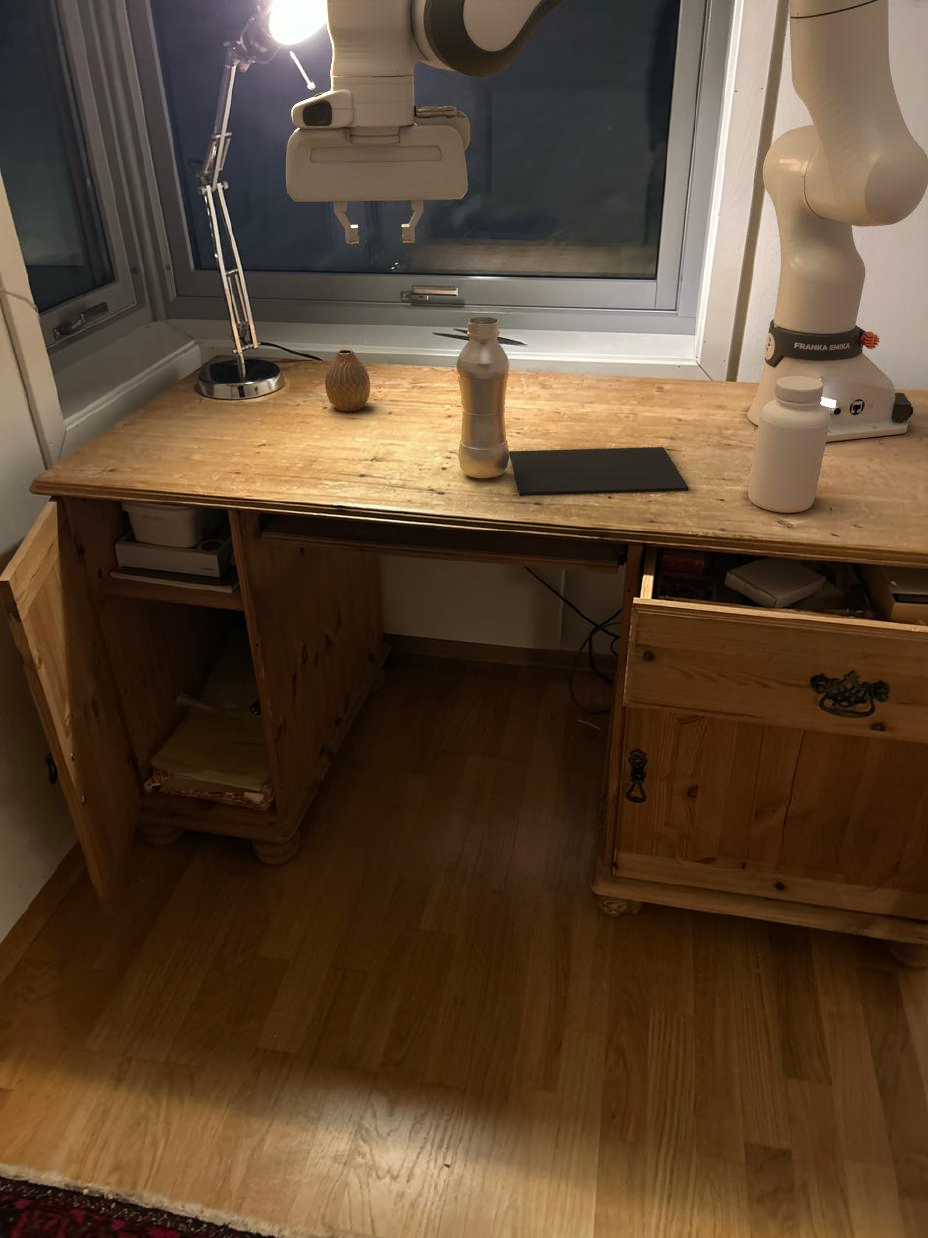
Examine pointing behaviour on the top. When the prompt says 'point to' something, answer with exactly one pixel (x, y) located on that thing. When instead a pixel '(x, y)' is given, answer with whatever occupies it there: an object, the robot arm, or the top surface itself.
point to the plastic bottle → (483, 400)
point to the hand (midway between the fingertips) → (380, 242)
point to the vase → (347, 382)
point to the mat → (595, 471)
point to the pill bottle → (789, 446)
